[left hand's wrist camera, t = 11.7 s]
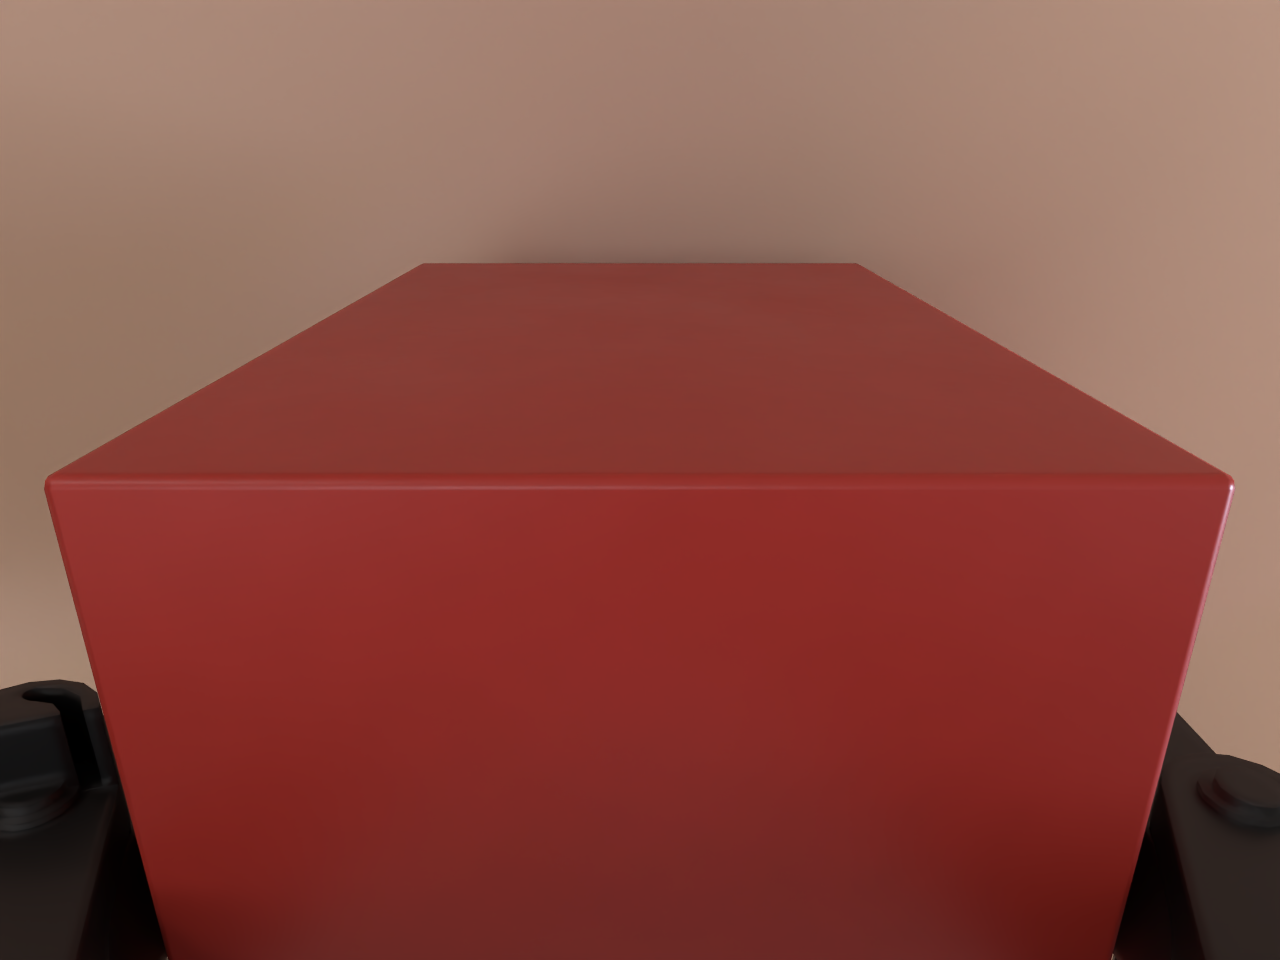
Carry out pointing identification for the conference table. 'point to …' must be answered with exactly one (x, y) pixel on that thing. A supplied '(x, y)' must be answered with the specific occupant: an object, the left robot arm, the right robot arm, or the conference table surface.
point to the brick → (639, 628)
